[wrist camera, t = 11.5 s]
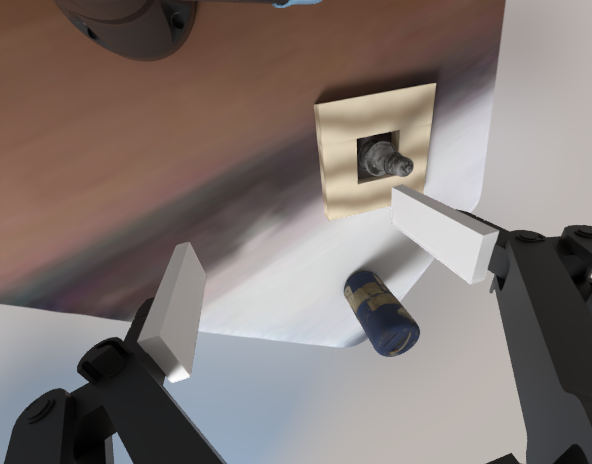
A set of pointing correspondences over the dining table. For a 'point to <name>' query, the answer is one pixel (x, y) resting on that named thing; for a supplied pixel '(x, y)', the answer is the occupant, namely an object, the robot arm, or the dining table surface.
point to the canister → (381, 315)
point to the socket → (366, 122)
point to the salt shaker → (384, 159)
